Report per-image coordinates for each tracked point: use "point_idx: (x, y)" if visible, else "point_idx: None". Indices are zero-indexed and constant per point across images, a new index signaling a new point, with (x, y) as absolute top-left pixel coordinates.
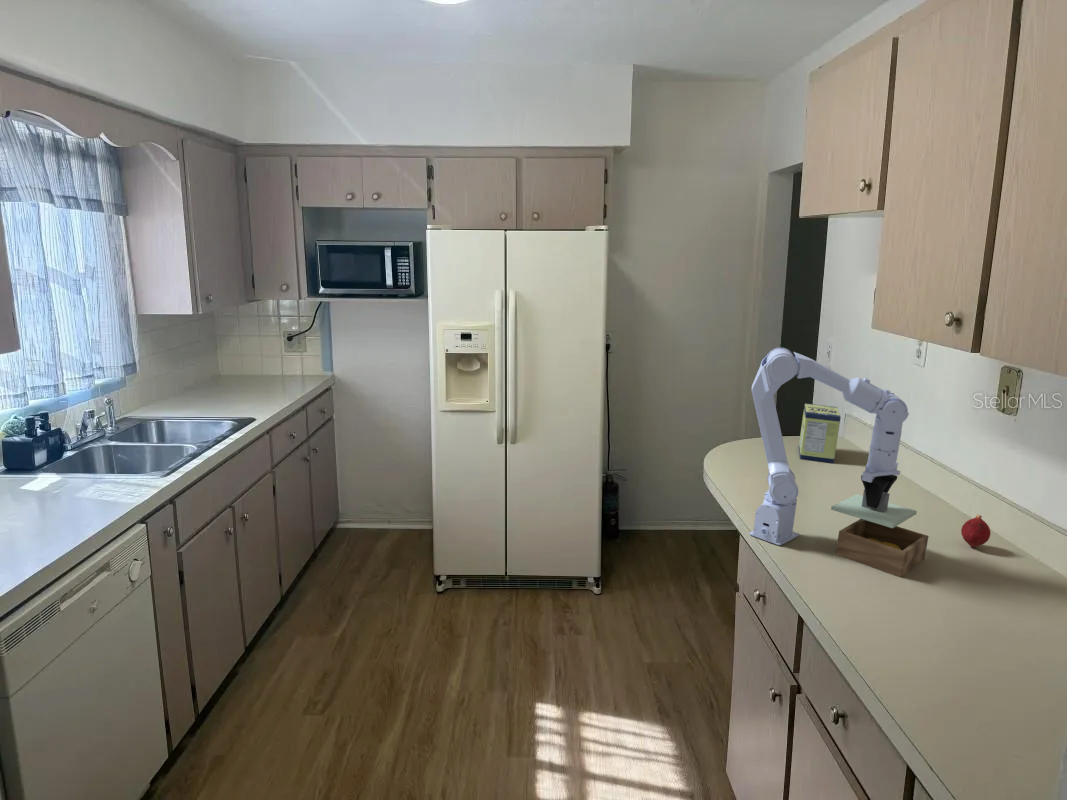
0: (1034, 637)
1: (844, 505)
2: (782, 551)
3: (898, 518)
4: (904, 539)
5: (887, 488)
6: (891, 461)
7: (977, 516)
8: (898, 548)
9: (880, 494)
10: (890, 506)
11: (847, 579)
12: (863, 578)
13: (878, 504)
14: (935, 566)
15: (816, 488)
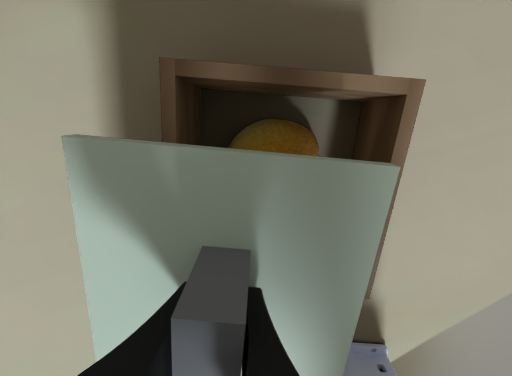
0: None
1: None
2: (408, 331)
3: (279, 174)
4: (187, 141)
5: (149, 370)
6: None
7: None
8: (267, 137)
9: (285, 357)
10: (127, 250)
11: (477, 188)
12: (446, 162)
13: (249, 297)
14: (216, 33)
15: None
